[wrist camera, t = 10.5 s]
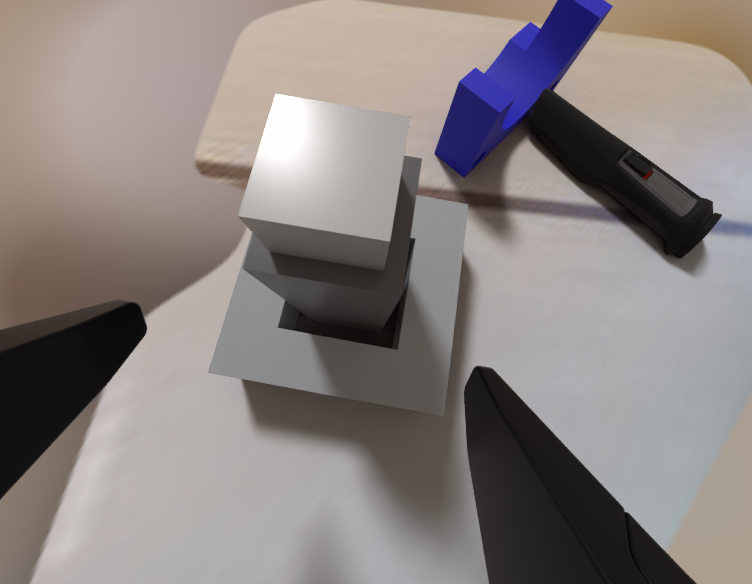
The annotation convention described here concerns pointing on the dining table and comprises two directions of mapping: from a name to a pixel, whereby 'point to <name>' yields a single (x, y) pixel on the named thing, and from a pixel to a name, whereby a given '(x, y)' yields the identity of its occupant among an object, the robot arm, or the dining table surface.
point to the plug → (332, 210)
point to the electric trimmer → (623, 174)
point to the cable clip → (515, 82)
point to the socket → (351, 359)
